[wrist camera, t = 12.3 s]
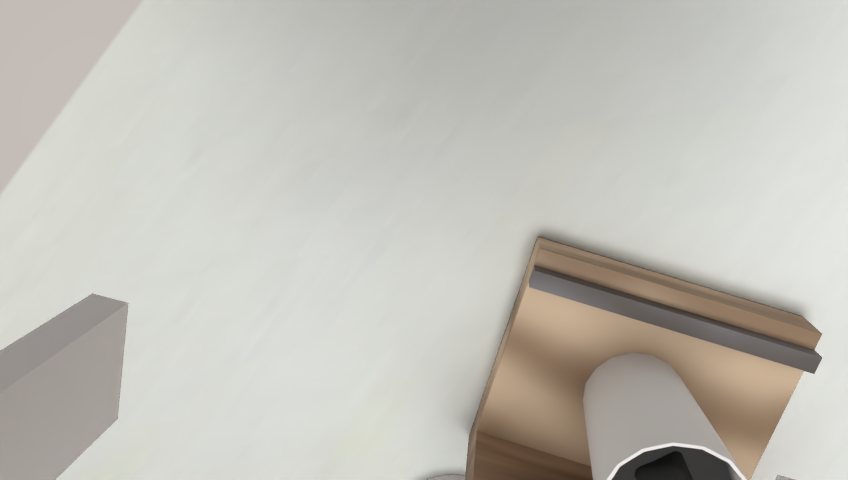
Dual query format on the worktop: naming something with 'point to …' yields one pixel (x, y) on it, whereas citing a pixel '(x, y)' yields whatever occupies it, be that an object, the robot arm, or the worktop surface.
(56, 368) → the robot arm
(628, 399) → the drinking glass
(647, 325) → the wooden display stand
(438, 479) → the wall hook
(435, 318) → the worktop surface
